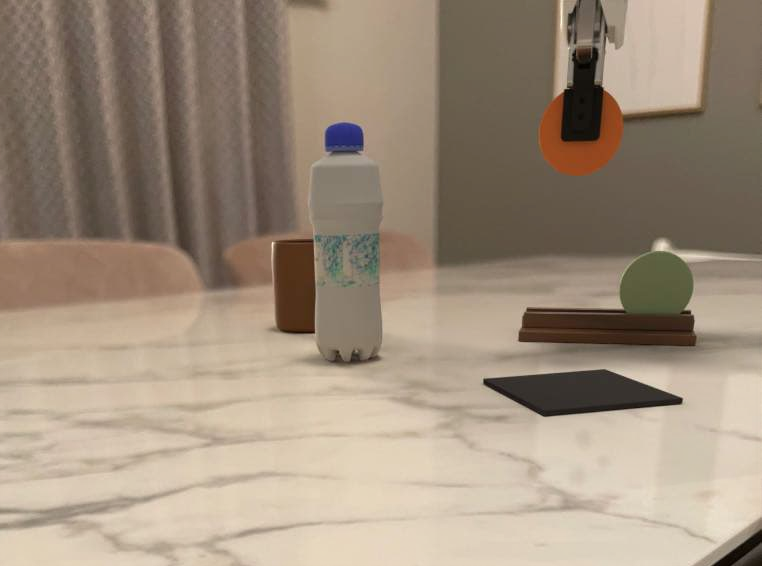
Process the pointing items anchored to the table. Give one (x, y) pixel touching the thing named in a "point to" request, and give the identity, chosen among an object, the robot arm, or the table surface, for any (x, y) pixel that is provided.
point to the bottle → (346, 246)
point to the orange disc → (580, 154)
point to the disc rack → (606, 326)
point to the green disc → (656, 284)
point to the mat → (579, 392)
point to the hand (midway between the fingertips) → (580, 139)
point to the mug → (294, 284)
